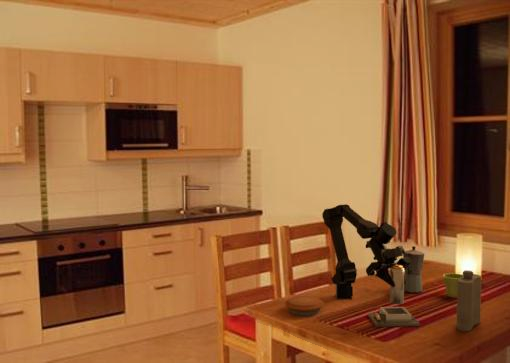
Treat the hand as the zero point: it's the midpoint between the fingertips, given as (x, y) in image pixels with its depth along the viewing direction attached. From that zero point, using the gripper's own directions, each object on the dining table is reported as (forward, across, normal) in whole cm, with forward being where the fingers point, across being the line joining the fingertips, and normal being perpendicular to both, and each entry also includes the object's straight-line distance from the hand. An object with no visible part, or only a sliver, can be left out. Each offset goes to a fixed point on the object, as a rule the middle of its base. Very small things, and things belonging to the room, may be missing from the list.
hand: (399, 285), depth 203 cm
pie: (-9, -25, +29) cm, 39 cm away
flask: (+21, +18, -2) cm, 28 cm away
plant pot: (0, +43, +19) cm, 47 cm away
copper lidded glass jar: (+4, 0, +6) cm, 7 cm away
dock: (+9, -2, +10) cm, 14 cm away
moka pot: (-10, +33, +29) cm, 45 cm away
